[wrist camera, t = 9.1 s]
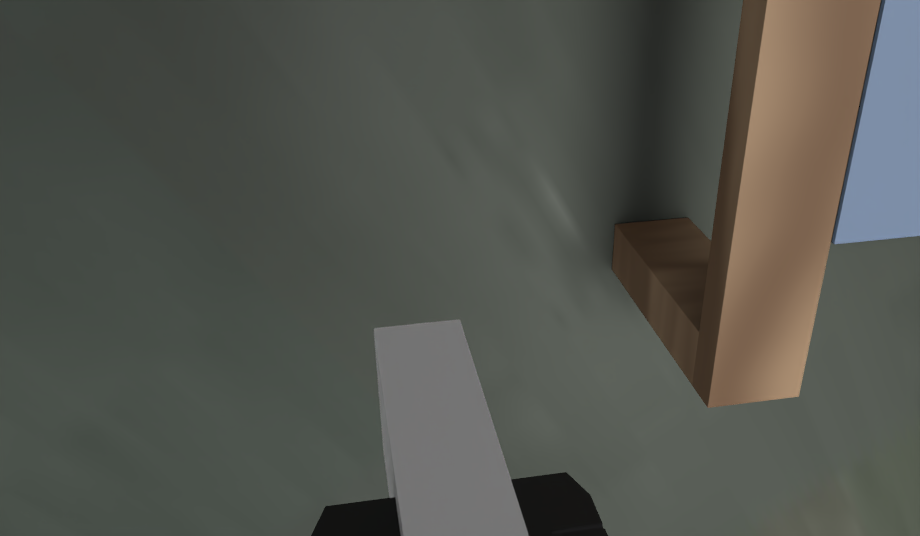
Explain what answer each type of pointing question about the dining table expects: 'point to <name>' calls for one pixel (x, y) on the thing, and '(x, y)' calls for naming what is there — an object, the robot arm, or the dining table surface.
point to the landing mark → (886, 135)
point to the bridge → (760, 207)
